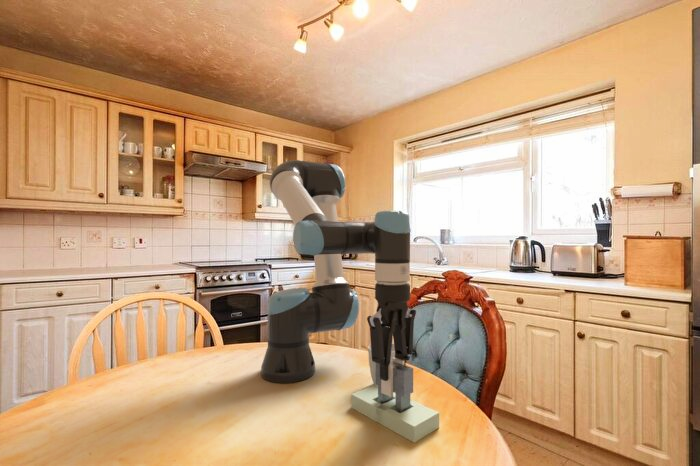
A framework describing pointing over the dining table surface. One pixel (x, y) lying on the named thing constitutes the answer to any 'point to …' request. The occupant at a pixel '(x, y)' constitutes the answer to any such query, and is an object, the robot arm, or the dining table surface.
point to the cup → (373, 364)
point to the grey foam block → (397, 386)
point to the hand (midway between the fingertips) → (393, 391)
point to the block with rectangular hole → (396, 414)
